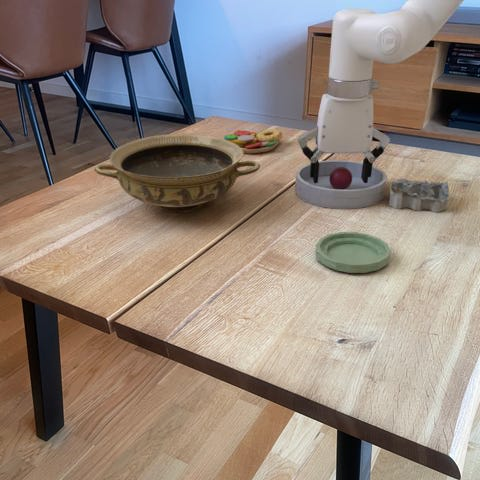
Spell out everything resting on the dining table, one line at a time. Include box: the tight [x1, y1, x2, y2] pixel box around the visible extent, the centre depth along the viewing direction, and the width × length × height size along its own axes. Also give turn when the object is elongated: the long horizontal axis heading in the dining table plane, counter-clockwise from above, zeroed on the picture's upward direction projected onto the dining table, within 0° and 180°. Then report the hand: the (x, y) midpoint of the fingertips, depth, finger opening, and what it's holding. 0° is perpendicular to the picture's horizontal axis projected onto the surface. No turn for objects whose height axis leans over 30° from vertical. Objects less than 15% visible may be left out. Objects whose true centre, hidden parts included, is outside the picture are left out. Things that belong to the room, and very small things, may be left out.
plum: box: [329, 167, 352, 190], centre depth 108 cm, size 4×4×4 cm
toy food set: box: [223, 128, 283, 154], centre depth 134 cm, size 13×13×3 cm
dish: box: [294, 159, 388, 210], centre depth 109 cm, size 17×18×4 cm
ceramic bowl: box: [94, 133, 261, 213], centre depth 103 cm, size 30×24×10 cm
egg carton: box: [388, 178, 450, 213], centre depth 103 cm, size 11×8×4 cm
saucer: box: [315, 231, 392, 274], centre depth 86 cm, size 11×11×2 cm
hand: (339, 180), depth 109 cm, fingers open, 9 cm apart
